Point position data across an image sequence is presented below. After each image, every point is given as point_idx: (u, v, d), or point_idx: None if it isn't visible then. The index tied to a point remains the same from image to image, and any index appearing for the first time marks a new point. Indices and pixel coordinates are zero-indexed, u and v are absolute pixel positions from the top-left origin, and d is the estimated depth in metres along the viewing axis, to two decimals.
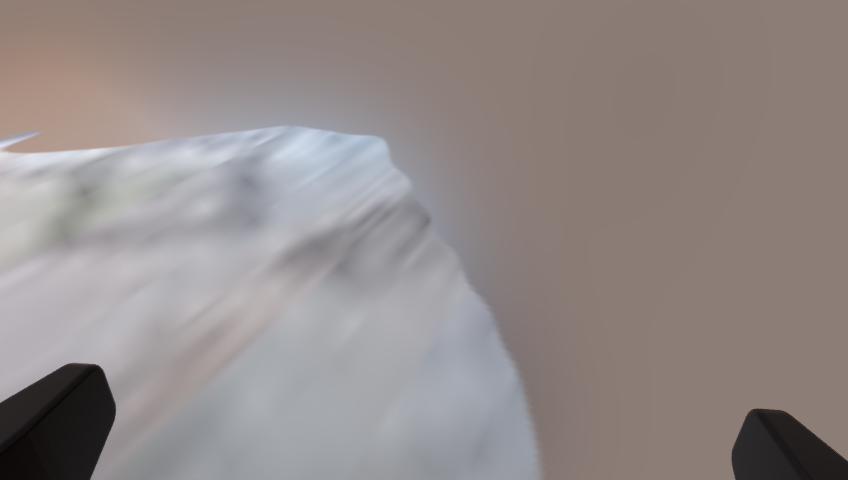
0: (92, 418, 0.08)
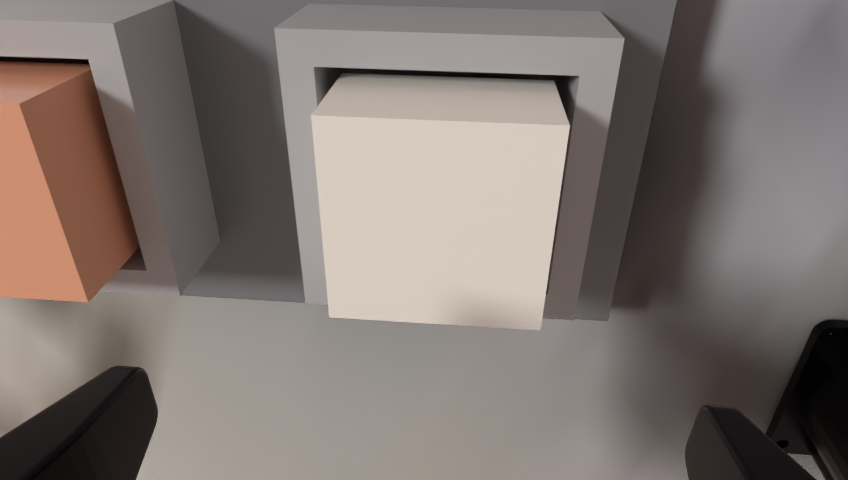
0: (137, 421, 0.08)
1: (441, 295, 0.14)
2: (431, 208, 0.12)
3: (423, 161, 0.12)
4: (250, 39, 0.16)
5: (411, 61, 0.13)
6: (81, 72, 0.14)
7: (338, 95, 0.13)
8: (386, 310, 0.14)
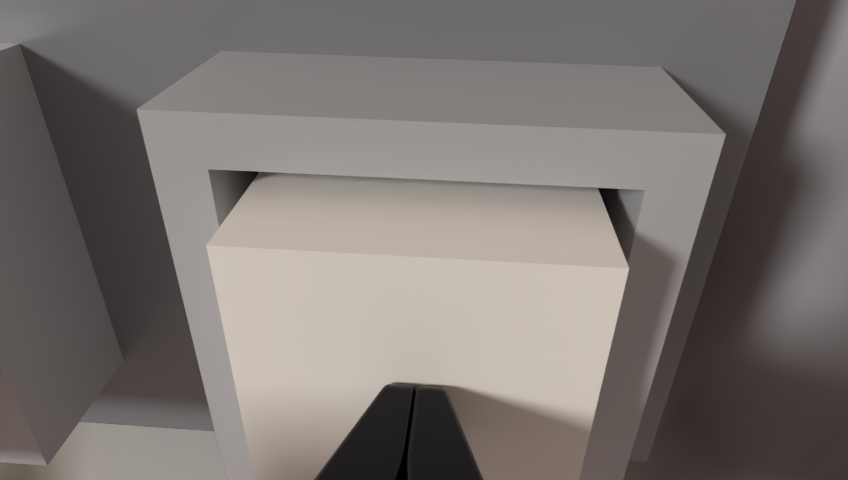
0: None
1: None
2: (404, 375, 0.08)
3: (389, 313, 0.07)
4: (138, 100, 0.11)
5: (367, 163, 0.08)
6: None
7: (261, 196, 0.08)
8: None
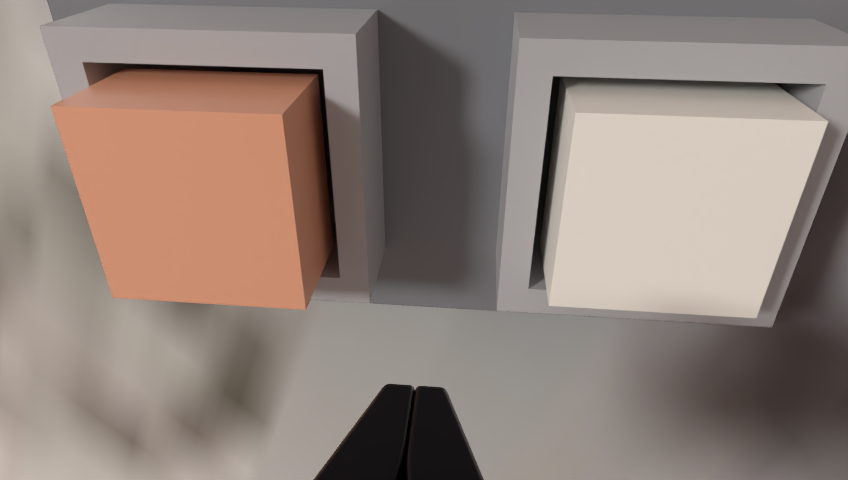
0: None
1: (664, 284, 0.14)
2: (674, 200, 0.13)
3: (676, 155, 0.13)
4: (449, 47, 0.16)
5: (654, 70, 0.13)
6: (308, 82, 0.14)
7: (580, 94, 0.14)
8: (607, 299, 0.15)
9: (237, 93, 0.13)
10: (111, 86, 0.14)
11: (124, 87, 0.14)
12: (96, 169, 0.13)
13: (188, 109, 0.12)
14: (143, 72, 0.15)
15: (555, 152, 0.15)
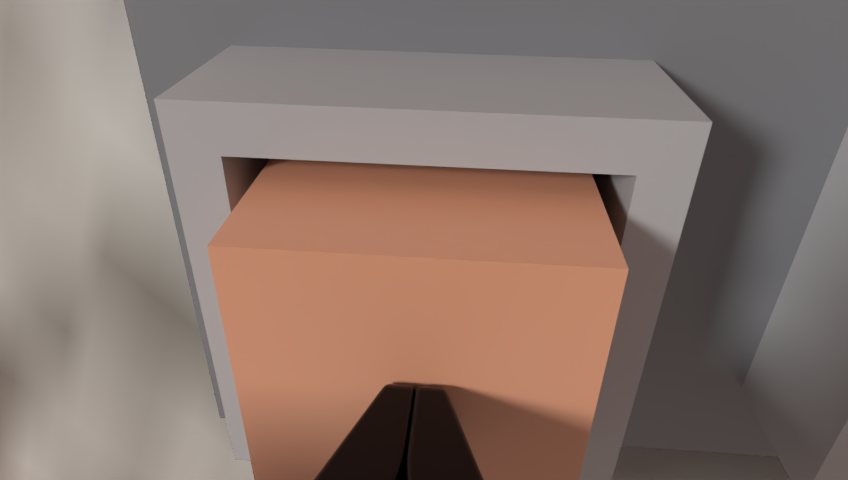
0: None
1: None
2: None
3: None
4: (752, 118, 0.11)
5: None
6: (590, 180, 0.09)
7: None
8: None
9: (502, 210, 0.08)
10: (281, 191, 0.08)
11: (304, 194, 0.08)
12: (271, 339, 0.08)
13: (455, 255, 0.07)
14: None
15: None
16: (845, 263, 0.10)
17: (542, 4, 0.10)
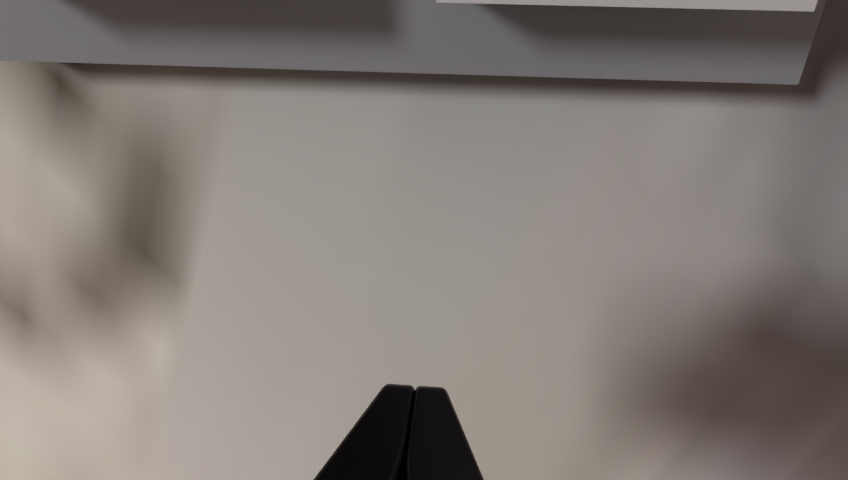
0: None
1: None
2: None
3: None
4: None
5: None
6: None
7: None
8: None
9: None
10: None
11: None
12: None
13: None
14: None
15: None
16: None
17: None
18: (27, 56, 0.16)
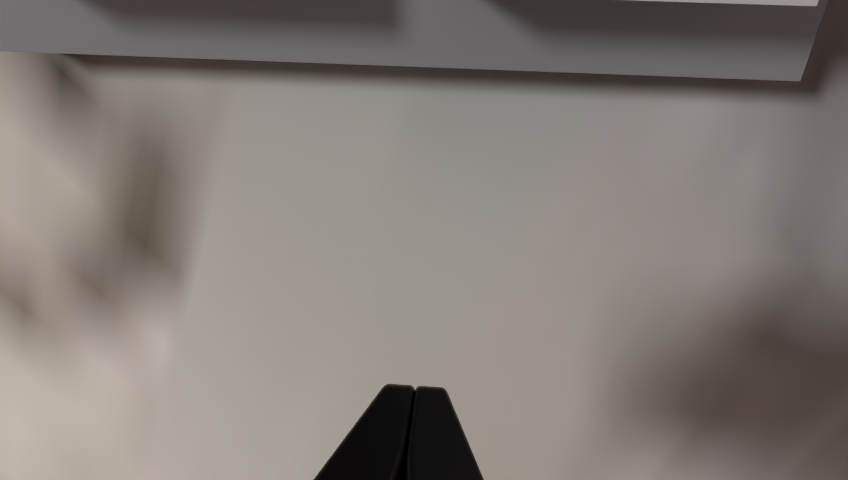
0: None
1: None
2: None
3: None
4: None
5: None
6: None
7: None
8: None
9: None
10: None
11: None
12: None
13: None
14: None
15: None
16: None
17: None
18: (30, 47, 0.16)
